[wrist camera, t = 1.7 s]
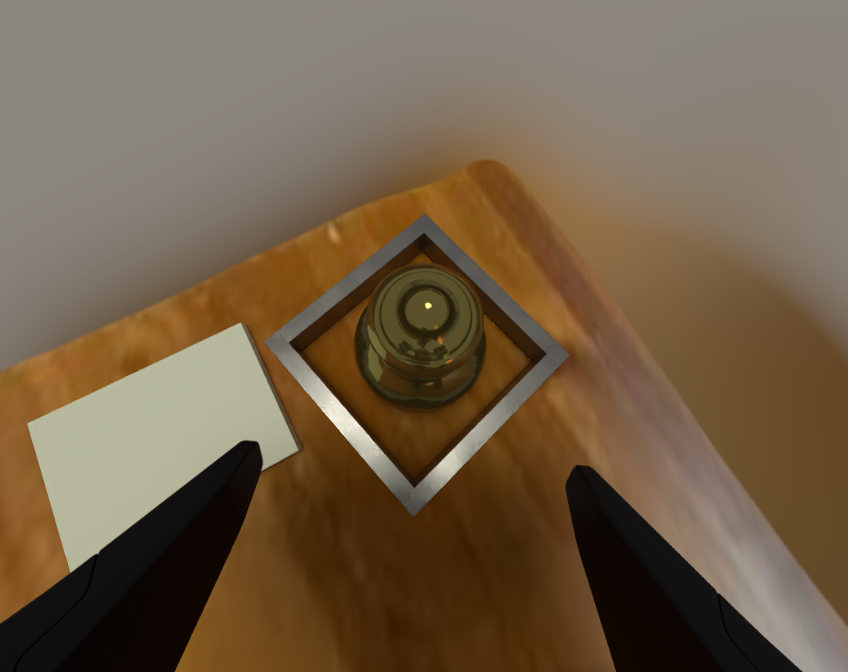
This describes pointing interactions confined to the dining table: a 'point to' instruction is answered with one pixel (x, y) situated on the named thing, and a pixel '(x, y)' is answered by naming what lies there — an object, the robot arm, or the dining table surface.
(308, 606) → the dining table surface
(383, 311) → the brass rounded piece
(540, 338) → the grey square frame
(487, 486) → the dining table surface
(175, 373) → the tile
